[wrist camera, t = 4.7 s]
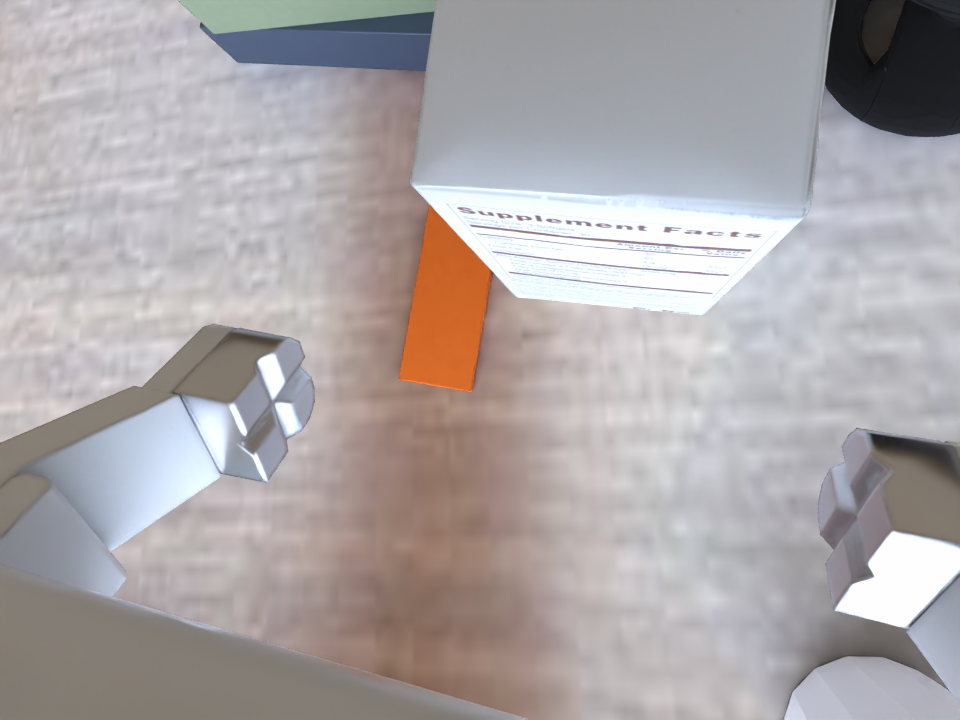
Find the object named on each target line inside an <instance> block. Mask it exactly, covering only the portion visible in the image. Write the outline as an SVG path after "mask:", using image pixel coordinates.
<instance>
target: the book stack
mask: <svg viewBox="0 0 960 720" xmlns="http://www.w3.org/2000/svg"><path fill="white" fill-rule="evenodd" d="M178 1H179V2H180V3H181V4H182V5H183V6H184V7H185V8H187V9H188V10H189V11H190V12H191V13H192V14H193V15H194V16H195V17H196V18H197V19H198V20H199V21H200V22H201V23H200V28H201V29H202V30H203V31H204V32H205V33H206V34H207V35H208V36H209V37H210V38H211V39H213V40H214V41H215V42H216V43H217V44H218V45H219V46H220V47H221V48H222V49H223V50H225V51H226V52H227V53H228V54H229V55H230V56H231V57H232V58H233V59H234V60H235V61H237V62H241V63H263V64H285V65H308V66H330V67H352V68H374V69H397V70H419V71H426V67H427V60H428V53H429V46H430V39H431V32H432V25H433V18H434V12H435V5H436V0H178Z"/></svg>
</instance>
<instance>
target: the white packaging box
mask: <svg viewBox="0 0 960 720" xmlns="http://www.w3.org/2000/svg"><path fill="white" fill-rule="evenodd" d="M835 4H836V0H436V5H435V12H434V18H433V25H432V32H431V39H430V46H429V53H428V60H427V67H426V74H425V81H424V88H423V95H422V103H421V110H420V117H419V124H418V131H417V138H416V145H415V152H414V160H413V166H412V172H411V177H410V182H411V185H412V186H413V187H414V188H415V189H416V190H417V191H418V192H419V193H420V194H421V196H422V197H423V198H424V199H425V200H426V201H427V202H428V203H429V204H430V205H431V206H432V207H433V208H434V210H435V211H436V212H437V213H438V214H439V215H440V216H441V217H442V218H443V219H444V220H445V221H446V222H447V223H448V224H449V226H450V227H451V228H452V229H453V230H454V231H455V232H456V233H457V234H458V235H459V236H460V238H461V239H462V240H463V241H464V242H465V243H466V244H467V245H468V246H469V247H470V248H471V249H472V250H473V251H474V252H475V253H476V254H477V255H478V257H479V258H480V259H481V260H482V261H483V262H484V263H485V264H486V265H487V266H488V267H489V268H490V269H491V271H492V272H493V273H494V274H495V275H496V276H497V277H498V278H499V279H500V280H501V281H502V283H503V284H504V285H505V286H506V287H507V288H508V289H509V290H510V291H511V292H512V293H513V294H514V295H515V296H516V297H519V298H533V299H543V300H554V301H564V302H574V303H584V304H594V305H604V306H614V307H623V308H633V309H643V310H653V311H663V312H673V313H684V314H694V315H704V314H705V313H707V311H708V310H709V309H710V308H711V307H713V306H714V305H715V304H716V302H717V301H718V300H719V299H720V298H721V297H723V296H724V295H725V294H726V293H727V292H728V291H729V290H730V289H731V288H732V287H733V286H734V285H735V284H736V283H737V282H738V281H739V280H740V279H741V278H742V277H743V276H744V275H745V274H746V273H747V272H748V271H749V270H751V269H752V268H753V266H754V265H755V264H756V263H758V262H759V261H760V260H761V259H762V258H763V257H764V256H765V255H766V254H767V253H768V252H769V251H770V250H771V249H772V248H773V247H774V246H775V245H776V244H777V243H778V242H779V241H780V240H781V239H782V238H783V237H784V236H785V235H787V234H788V233H789V232H790V231H791V230H792V229H793V227H795V226H796V225H797V224H798V223H799V222H800V221H801V220H802V219H803V218H804V217H805V216H806V215H807V213H808V211H809V208H810V205H811V199H812V194H813V182H814V174H815V167H816V160H817V149H818V139H819V129H820V120H821V111H822V103H823V94H824V86H825V77H826V68H827V59H828V51H829V42H830V34H831V28H832V22H833V17H834V11H835Z"/></svg>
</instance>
